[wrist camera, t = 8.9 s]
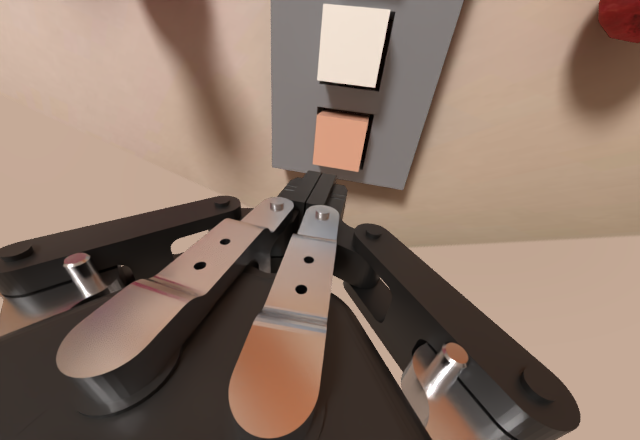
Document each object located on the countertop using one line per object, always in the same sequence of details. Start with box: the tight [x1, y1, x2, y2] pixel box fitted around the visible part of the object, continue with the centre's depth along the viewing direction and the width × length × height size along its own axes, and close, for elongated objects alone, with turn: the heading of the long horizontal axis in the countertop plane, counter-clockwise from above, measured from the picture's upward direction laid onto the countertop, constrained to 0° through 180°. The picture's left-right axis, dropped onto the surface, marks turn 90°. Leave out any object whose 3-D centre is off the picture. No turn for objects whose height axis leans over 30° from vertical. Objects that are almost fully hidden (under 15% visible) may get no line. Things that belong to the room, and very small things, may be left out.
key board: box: [271, 0, 464, 190], centre depth 20 cm, size 14×22×3 cm, turn 174°
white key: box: [317, 4, 390, 88], centre depth 18 cm, size 4×4×4 cm
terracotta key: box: [313, 109, 369, 172], centre depth 23 cm, size 4×4×4 cm
